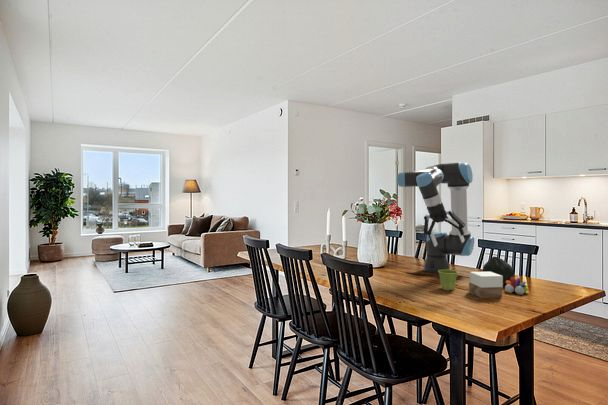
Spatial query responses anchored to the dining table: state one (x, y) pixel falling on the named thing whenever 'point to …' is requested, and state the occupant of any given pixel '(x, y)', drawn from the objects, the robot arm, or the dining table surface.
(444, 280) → the plant pot
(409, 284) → the dining table surface
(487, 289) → the walnut base block
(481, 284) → the pale top block
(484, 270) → the squash
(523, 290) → the rainbow petal cluster
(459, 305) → the dining table surface
